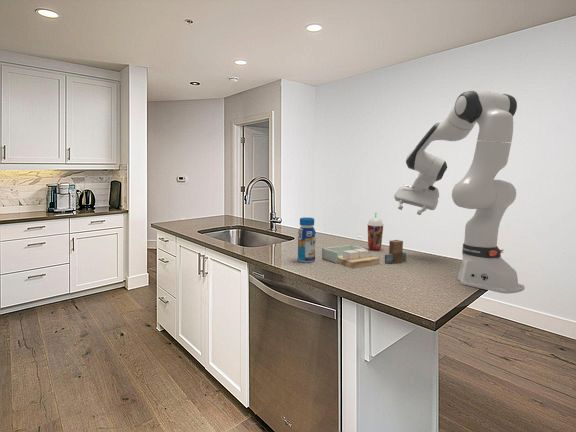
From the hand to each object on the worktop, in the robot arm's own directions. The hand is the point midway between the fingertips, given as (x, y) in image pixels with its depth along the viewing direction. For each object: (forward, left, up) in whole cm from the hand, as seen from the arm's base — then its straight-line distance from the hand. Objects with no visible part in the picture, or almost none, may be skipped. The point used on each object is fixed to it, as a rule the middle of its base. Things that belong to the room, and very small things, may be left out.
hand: (409, 211), depth 174 cm
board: (+4, +26, -23) cm, 35 cm away
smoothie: (+23, -2, -23) cm, 33 cm away
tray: (+15, +26, -23) cm, 38 cm away
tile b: (+7, +29, -21) cm, 37 cm away
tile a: (+7, +23, -21) cm, 32 cm away
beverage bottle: (+20, +44, -23) cm, 54 cm away
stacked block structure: (-2, +9, -23) cm, 25 cm away
